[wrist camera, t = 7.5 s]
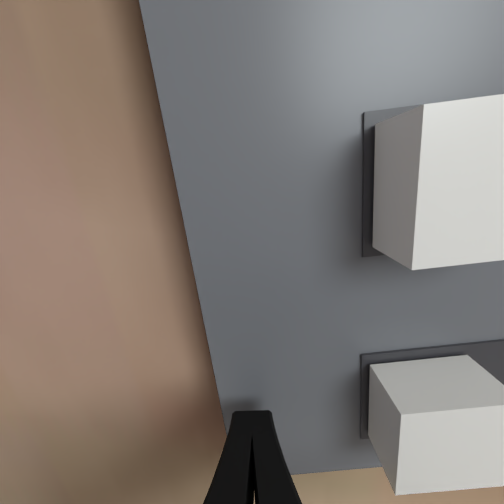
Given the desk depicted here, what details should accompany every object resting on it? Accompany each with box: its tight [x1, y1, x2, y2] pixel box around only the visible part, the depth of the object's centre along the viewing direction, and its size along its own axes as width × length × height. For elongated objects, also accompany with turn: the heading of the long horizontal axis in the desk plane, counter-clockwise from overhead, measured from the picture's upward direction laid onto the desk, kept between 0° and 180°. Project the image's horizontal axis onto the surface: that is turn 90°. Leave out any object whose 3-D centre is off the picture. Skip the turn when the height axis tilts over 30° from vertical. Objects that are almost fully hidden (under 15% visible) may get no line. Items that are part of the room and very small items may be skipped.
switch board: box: [139, 0, 504, 475], centre depth 8 cm, size 20×24×2 cm
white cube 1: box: [368, 355, 504, 495], centre depth 9 cm, size 4×4×2 cm
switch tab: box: [372, 94, 504, 270], centre depth 6 cm, size 4×4×2 cm
